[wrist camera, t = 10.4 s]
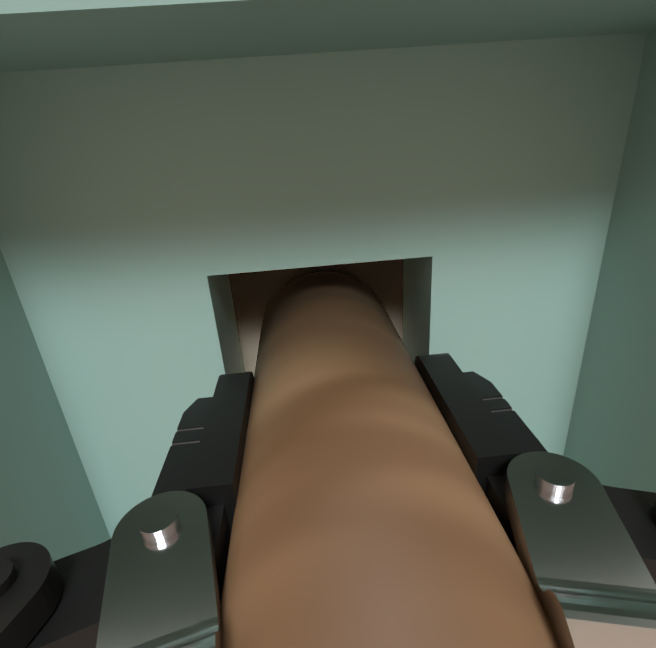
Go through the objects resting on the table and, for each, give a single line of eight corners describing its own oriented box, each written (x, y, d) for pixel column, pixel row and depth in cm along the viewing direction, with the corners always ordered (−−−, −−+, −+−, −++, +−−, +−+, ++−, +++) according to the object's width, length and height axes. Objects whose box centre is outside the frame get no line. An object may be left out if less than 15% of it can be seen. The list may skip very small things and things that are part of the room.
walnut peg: (386, 266, 13) (907, 977, 2) (387, 380, 15) (680, 1118, 4) (253, 277, 13) (35, 1131, 2) (269, 391, 14) (204, 1207, 3)
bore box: (616, 0, 11) (1025, -169, 5) (533, 485, 18) (663, 671, 12) (-46, 39, 11) (-547, -103, 4) (128, 531, 18) (36, 757, 11)
